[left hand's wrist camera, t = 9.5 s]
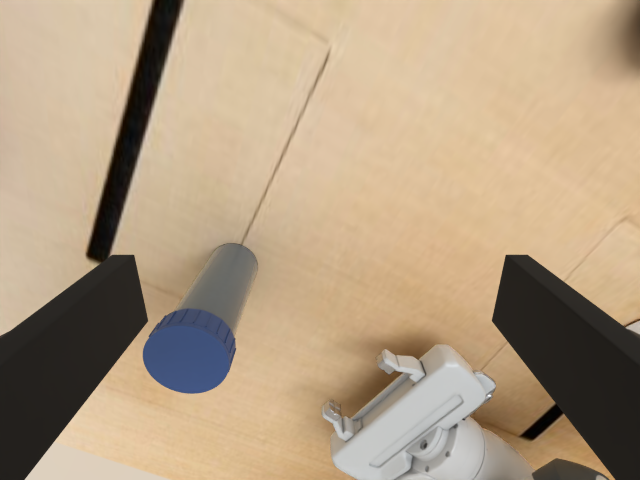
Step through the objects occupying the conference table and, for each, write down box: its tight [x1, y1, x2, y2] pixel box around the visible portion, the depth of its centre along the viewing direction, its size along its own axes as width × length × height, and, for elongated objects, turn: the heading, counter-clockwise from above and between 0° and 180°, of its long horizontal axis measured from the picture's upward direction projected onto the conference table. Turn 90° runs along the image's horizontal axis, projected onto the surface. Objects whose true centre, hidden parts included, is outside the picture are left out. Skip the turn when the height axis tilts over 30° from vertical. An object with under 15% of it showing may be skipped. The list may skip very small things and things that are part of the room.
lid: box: [143, 308, 236, 393], centre depth 27 cm, size 6×6×2 cm
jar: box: [174, 243, 258, 337], centre depth 34 cm, size 6×6×16 cm
